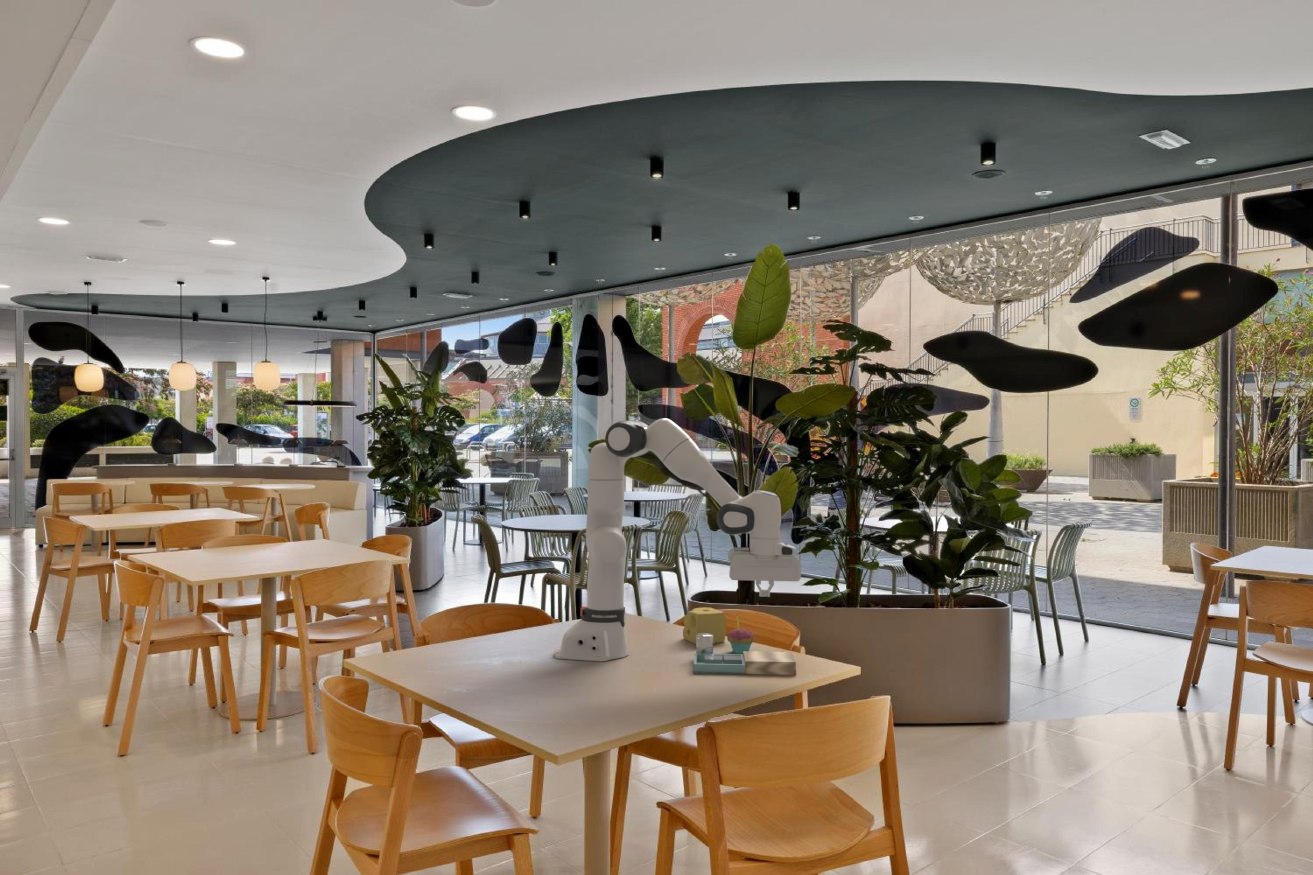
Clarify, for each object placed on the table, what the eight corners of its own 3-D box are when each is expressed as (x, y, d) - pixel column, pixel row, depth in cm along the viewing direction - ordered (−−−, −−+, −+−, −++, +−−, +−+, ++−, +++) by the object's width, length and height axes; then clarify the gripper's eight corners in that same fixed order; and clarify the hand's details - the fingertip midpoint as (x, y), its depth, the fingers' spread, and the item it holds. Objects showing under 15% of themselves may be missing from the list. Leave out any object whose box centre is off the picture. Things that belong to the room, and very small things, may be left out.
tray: (694, 672, 252) (694, 663, 252) (694, 662, 265) (694, 653, 265) (745, 673, 251) (745, 664, 251) (743, 662, 264) (743, 654, 264)
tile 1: (722, 659, 255) (722, 668, 255) (722, 655, 260) (722, 663, 260) (704, 659, 256) (704, 668, 256) (704, 654, 261) (704, 663, 261)
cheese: (682, 639, 296) (682, 608, 296) (711, 636, 300) (711, 606, 300) (697, 645, 286) (697, 614, 286) (727, 642, 291) (727, 611, 291)
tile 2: (724, 668, 255) (724, 659, 255) (723, 664, 260) (723, 655, 260) (741, 668, 255) (741, 659, 255) (740, 664, 260) (740, 655, 260)
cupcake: (745, 656, 272) (745, 616, 272) (721, 652, 277) (721, 613, 277) (759, 651, 278) (759, 612, 279) (736, 647, 284) (736, 609, 284)
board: (745, 673, 252) (745, 661, 252) (743, 663, 264) (743, 651, 264) (795, 674, 251) (795, 661, 251) (791, 663, 263) (791, 651, 263)
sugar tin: (696, 660, 267) (696, 636, 267) (696, 656, 272) (696, 633, 272) (713, 660, 267) (713, 636, 267) (713, 656, 272) (713, 633, 272)
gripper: (728, 548, 255) (728, 597, 255) (802, 549, 254) (801, 599, 254) (728, 545, 261) (727, 593, 261) (799, 547, 260) (799, 595, 260)
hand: (764, 596), depth 257 cm, fingers closed
